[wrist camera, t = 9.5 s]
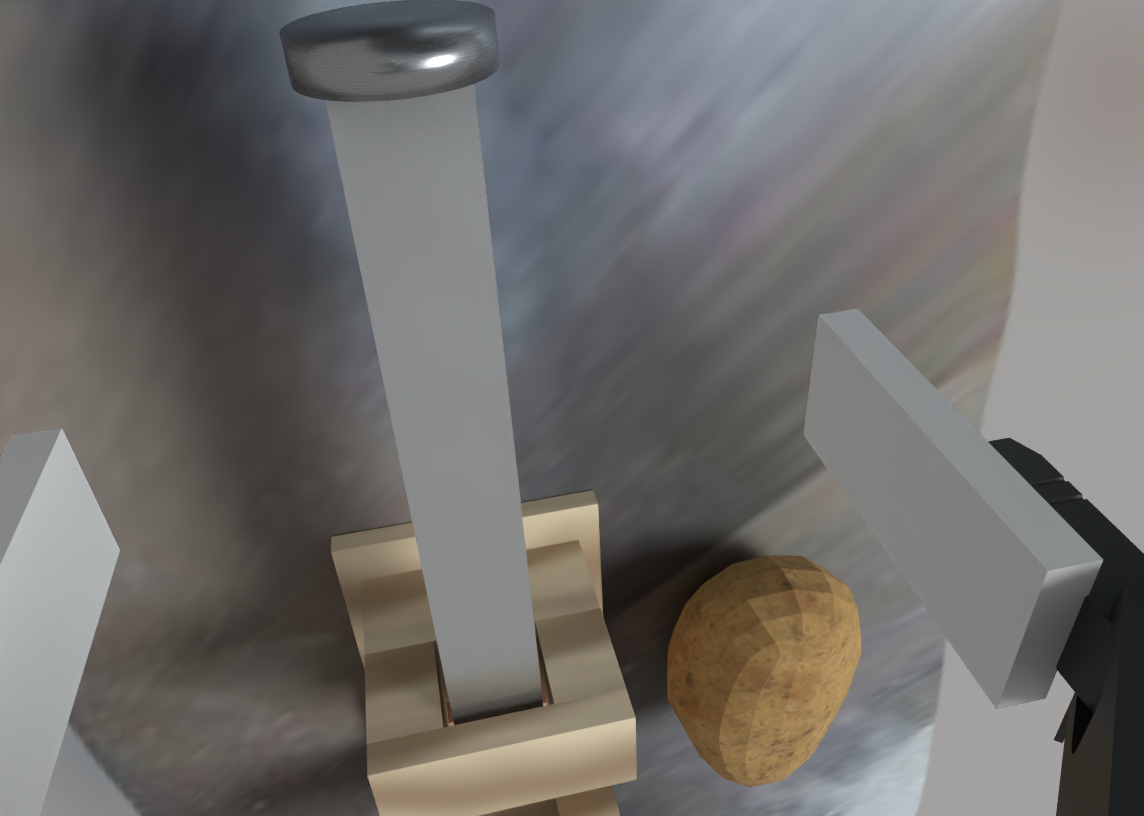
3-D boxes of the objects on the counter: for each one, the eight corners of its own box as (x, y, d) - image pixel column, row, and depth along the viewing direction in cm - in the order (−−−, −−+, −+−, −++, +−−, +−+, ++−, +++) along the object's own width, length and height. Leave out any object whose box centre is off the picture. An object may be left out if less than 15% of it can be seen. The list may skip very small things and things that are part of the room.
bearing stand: (331, 537, 40) (327, 748, 31) (592, 490, 41) (661, 677, 32) (402, 793, 51) (415, 1002, 42) (605, 748, 53) (659, 940, 44)
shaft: (285, 11, 23) (272, 56, 19) (480, -8, 24) (509, 32, 20) (428, 663, 38) (438, 769, 34) (546, 639, 39) (570, 740, 35)
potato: (635, 705, 51) (678, 836, 45) (656, 519, 43) (711, 644, 37) (793, 680, 53) (856, 802, 46) (840, 497, 45) (923, 612, 39)
